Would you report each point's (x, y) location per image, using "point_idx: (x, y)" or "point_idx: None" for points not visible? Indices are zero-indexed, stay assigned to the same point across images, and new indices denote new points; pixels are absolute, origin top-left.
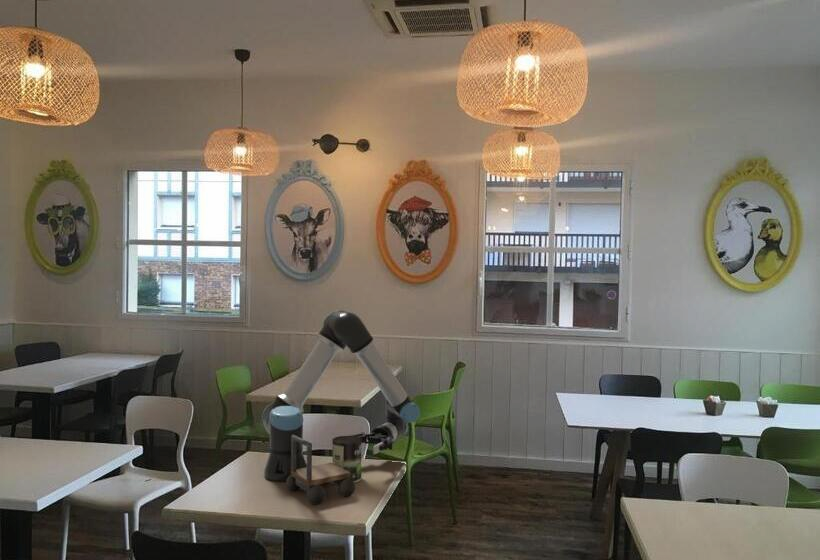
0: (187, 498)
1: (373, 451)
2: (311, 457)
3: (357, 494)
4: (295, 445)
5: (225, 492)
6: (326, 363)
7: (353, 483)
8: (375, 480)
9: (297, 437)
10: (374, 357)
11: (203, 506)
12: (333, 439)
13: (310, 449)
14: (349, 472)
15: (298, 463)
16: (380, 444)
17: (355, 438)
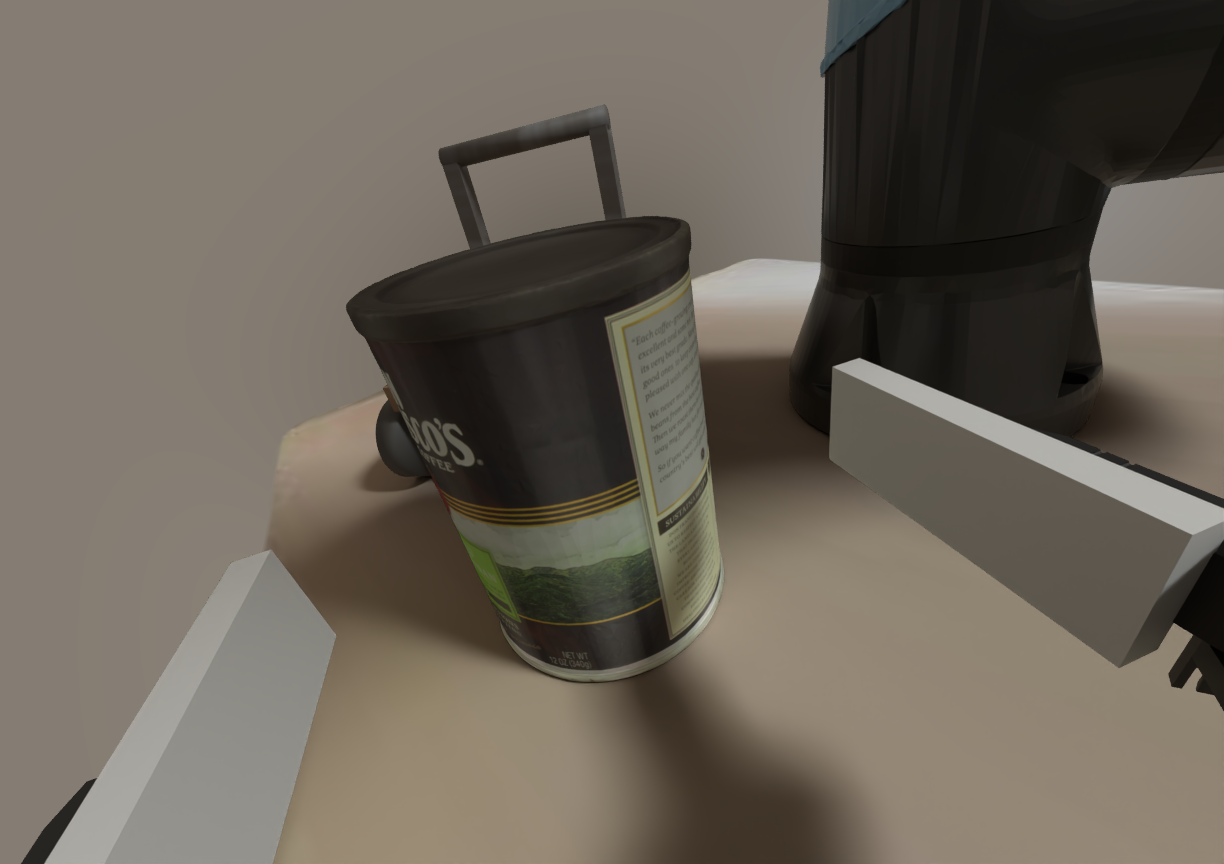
0: (795, 264)
1: (307, 612)
2: (461, 218)
3: (397, 506)
4: (597, 166)
5: (791, 292)
6: None
7: (379, 435)
8: (385, 730)
9: (553, 119)
10: None
11: (715, 279)
12: (625, 220)
13: (450, 179)
14: (387, 385)
15: (814, 330)
16: (96, 813)
17: (462, 291)
